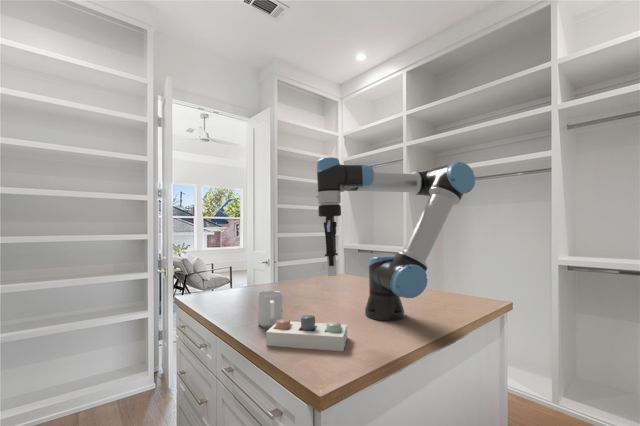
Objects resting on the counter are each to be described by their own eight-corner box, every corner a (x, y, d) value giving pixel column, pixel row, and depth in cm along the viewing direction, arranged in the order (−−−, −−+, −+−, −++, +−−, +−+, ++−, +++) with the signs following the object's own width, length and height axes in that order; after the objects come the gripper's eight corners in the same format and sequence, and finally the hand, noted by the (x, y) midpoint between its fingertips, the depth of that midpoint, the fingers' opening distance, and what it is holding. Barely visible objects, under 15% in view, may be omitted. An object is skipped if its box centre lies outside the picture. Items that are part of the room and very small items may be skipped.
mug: (257, 321, 115) (257, 291, 115) (281, 319, 117) (280, 290, 117) (259, 332, 103) (259, 299, 103) (285, 330, 105) (285, 297, 106)
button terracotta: (291, 332, 98) (291, 319, 98) (287, 337, 94) (287, 323, 94) (278, 332, 99) (278, 318, 99) (274, 336, 95) (274, 323, 95)
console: (347, 337, 98) (347, 324, 98) (343, 351, 87) (343, 336, 87) (278, 332, 103) (278, 320, 103) (266, 345, 92) (266, 331, 92)
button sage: (341, 336, 95) (341, 322, 95) (340, 341, 91) (339, 327, 91) (327, 335, 96) (327, 321, 96) (325, 340, 92) (325, 326, 92)
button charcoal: (316, 328, 97) (316, 315, 97) (313, 333, 92) (313, 319, 93) (302, 328, 98) (302, 314, 98) (299, 332, 93) (299, 318, 93)
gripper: (321, 205, 110) (323, 272, 109) (315, 204, 97) (318, 279, 96) (342, 205, 109) (344, 272, 108) (339, 203, 96) (342, 279, 95)
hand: (332, 275), depth 102 cm, fingers closed
